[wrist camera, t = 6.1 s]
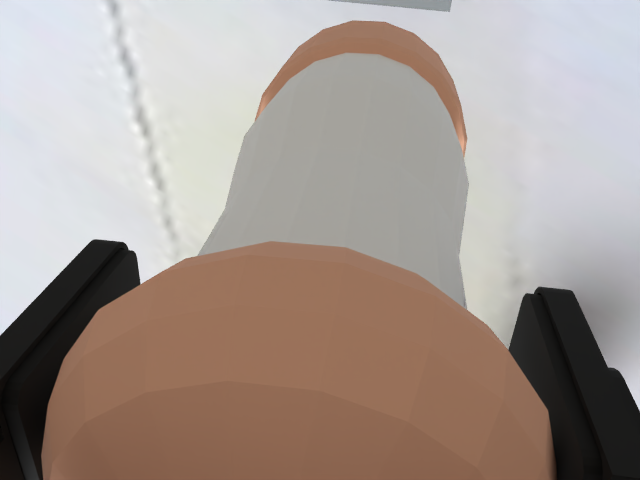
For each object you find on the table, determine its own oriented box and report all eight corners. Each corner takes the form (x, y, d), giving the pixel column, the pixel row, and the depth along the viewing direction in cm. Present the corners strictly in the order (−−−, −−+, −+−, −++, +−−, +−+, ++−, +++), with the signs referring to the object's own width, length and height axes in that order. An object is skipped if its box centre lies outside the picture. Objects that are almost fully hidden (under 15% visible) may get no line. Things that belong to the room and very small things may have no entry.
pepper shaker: (428, 218, 24) (488, 884, 7) (260, 182, 24) (-45, 755, 8) (484, 42, 20) (841, 587, 4) (286, 0, 20) (-200, 349, 4)
